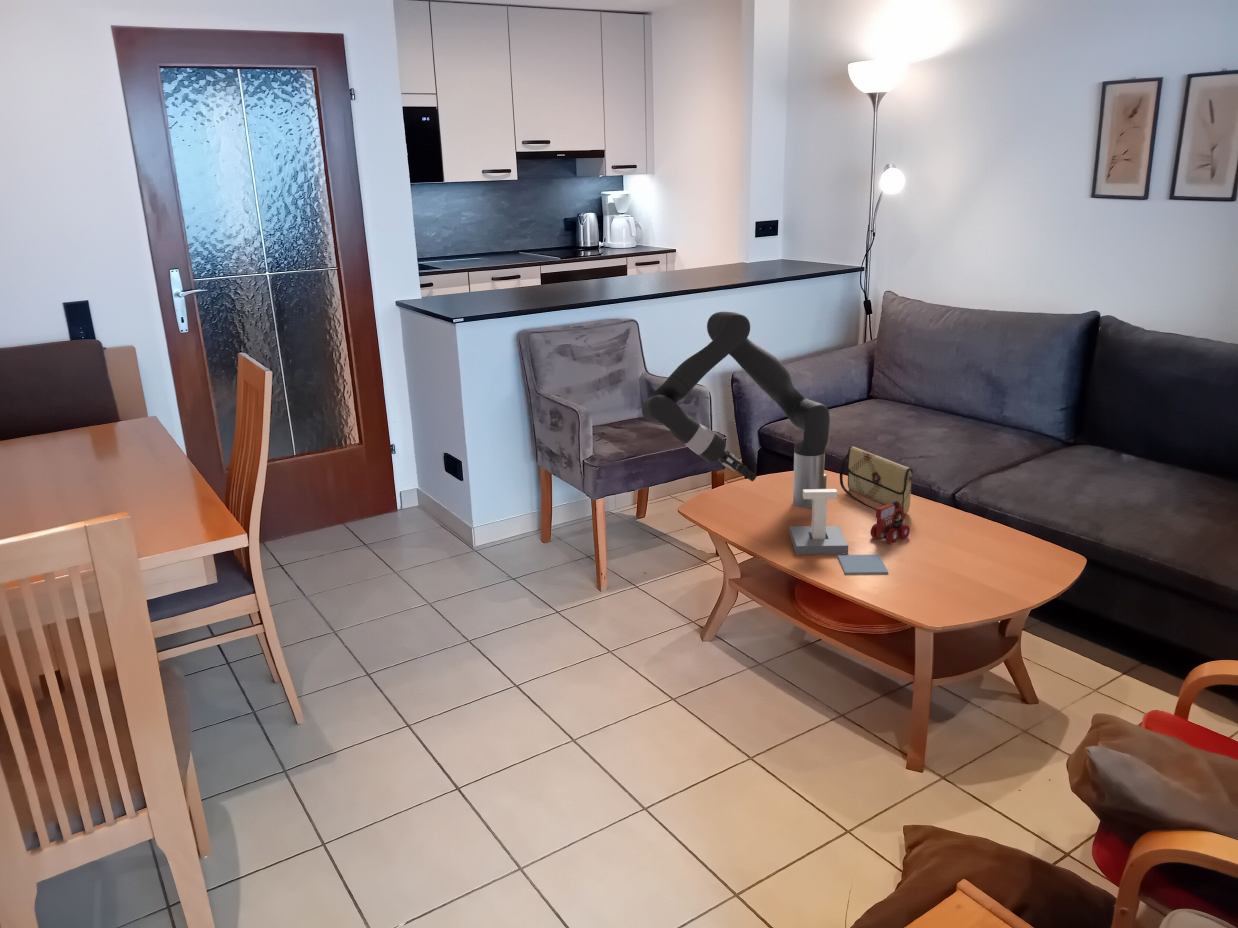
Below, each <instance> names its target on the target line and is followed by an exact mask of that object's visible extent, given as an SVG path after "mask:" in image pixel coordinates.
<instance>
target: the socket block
mask: <svg viewBox="0 0 1238 928" xmlns="http://www.w3.org/2000/svg"><path fill="white" fill-rule="evenodd" d="M811 529H812V525H810V526H809V525H808V526H807V525H805V526H803V525H802V526H801V525H799V526H798V525H797V526H795V525H794V526H792V525H791V526H789V536H790V539H791V542H792V546H793V549H794V551H795V552H794V553H795V555H798V556H799V555H849V544H848V540H847V539H846V537H845V535H844V533H843V531H842V529H841V527H840V525H826V539H811Z"/></svg>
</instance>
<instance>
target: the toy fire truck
mask: <svg viewBox="0 0 1238 928" xmlns="http://www.w3.org/2000/svg"><path fill="white" fill-rule="evenodd" d="M876 509H877V510H875V519H876V523H874V524H873V525H872V526H871V528H870V536H871V537H872V538H874V539H883V538H884V539H885V541H886V542H887V543H888V544H891V545H892V544H895V543H897V541H898V539H901V540H902V539H903V540H905V539H907V538H908V537H909V535H910V533H911V531H910V530H911V529H910V526H909V525H908V524H906V514H904V511H903V508H902V506H900V503H899V502H898V501H894V502H893V503H892V504H887V505H883V506H881V507H878V508H876Z"/></svg>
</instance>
